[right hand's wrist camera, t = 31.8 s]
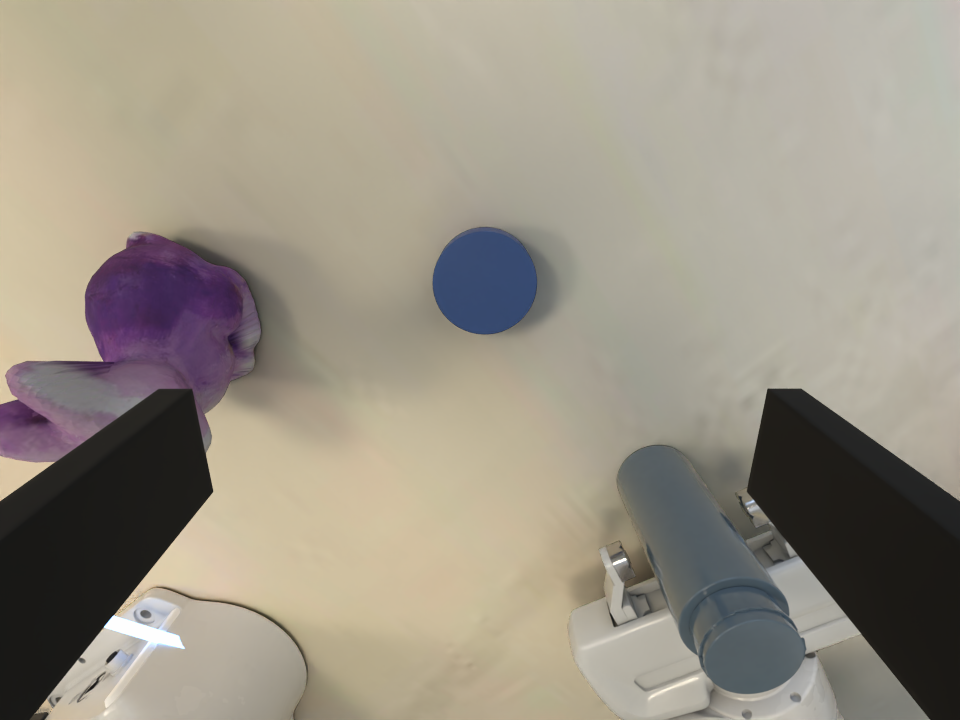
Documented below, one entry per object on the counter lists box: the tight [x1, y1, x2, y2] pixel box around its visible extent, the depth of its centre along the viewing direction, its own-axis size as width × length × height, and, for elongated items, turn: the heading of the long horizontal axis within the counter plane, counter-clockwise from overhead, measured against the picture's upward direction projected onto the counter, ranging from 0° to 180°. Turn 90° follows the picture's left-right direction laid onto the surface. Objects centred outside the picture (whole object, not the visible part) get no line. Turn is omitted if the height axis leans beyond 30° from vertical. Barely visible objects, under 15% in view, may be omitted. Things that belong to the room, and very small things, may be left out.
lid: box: [433, 227, 537, 334], centre depth 33 cm, size 6×6×2 cm
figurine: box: [0, 232, 261, 462], centre depth 28 cm, size 9×10×15 cm
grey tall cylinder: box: [617, 445, 806, 694], centre depth 32 cm, size 6×6×16 cm
